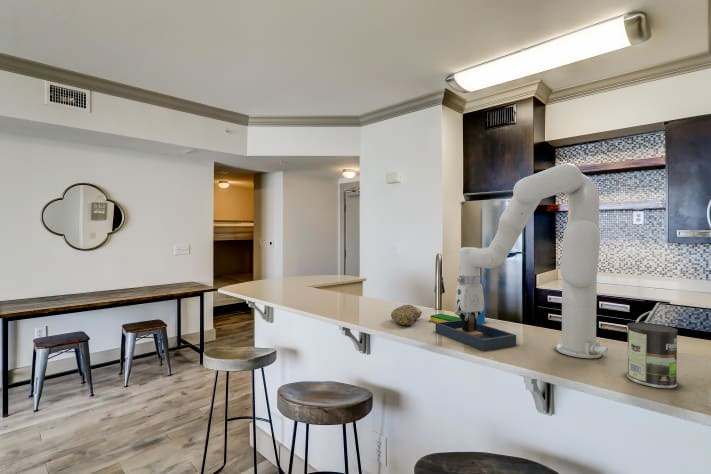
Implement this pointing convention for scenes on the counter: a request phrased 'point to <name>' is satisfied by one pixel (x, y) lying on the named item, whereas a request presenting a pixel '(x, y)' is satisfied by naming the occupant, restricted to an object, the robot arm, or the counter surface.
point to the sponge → (406, 314)
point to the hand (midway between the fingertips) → (469, 329)
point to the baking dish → (487, 342)
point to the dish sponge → (443, 318)
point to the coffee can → (652, 354)
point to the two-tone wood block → (471, 327)
